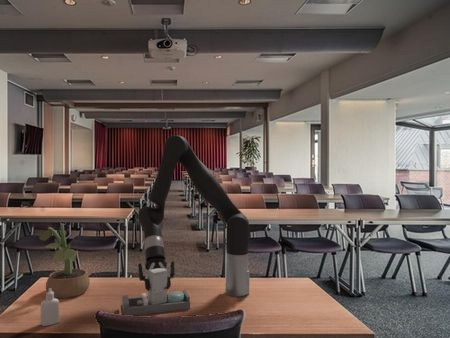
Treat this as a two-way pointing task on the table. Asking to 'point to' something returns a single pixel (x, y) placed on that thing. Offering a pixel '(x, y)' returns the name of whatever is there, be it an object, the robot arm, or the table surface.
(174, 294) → the teal jar
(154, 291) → the skincare box
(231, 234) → the robot arm
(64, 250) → the potted plant
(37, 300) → the table surface
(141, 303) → the spring paddle
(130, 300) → the pusher lane
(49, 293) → the eye dropper bottle
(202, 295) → the table surface
